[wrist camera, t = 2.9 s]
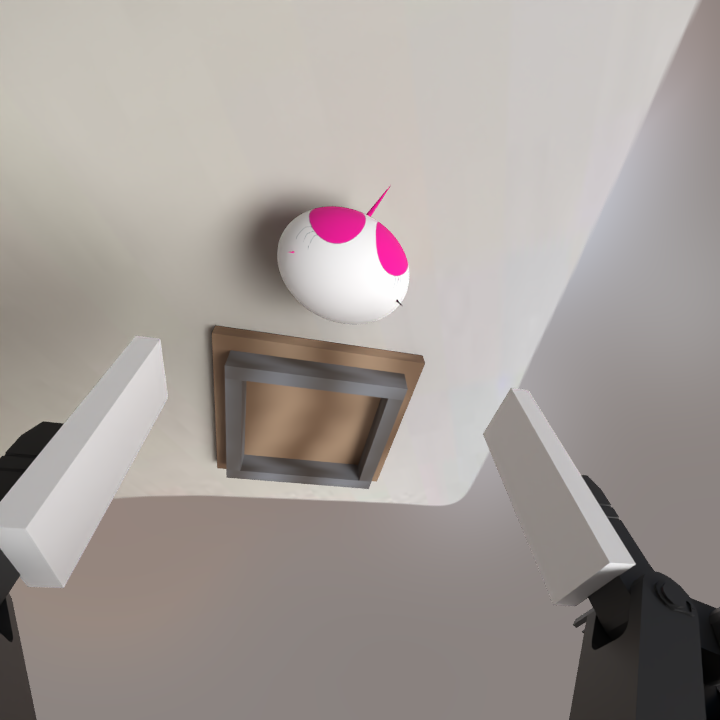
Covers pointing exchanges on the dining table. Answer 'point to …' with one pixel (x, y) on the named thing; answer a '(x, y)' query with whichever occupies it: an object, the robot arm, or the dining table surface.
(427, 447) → the dining table surface
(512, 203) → the dining table surface
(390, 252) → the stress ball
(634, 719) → the robot arm
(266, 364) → the cradle
